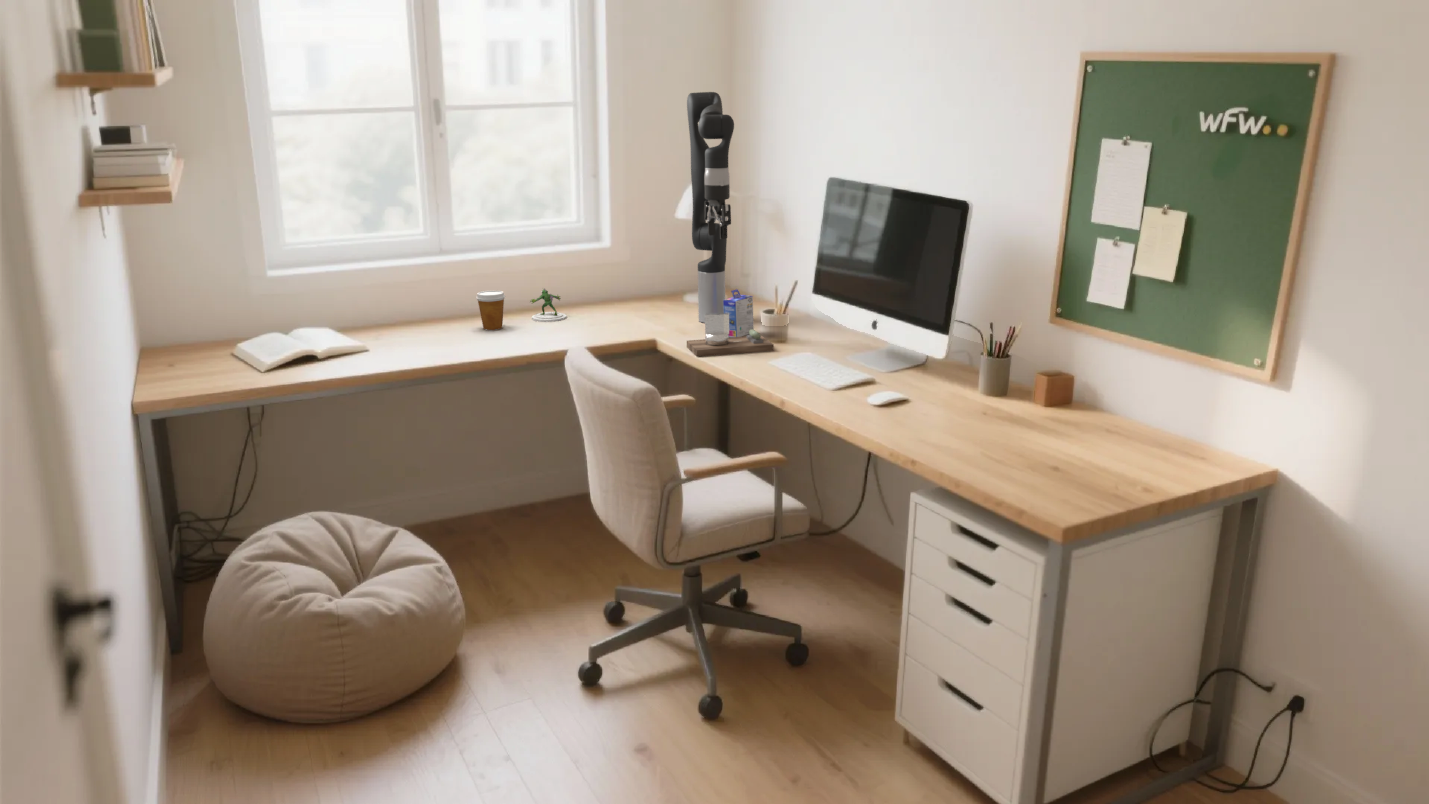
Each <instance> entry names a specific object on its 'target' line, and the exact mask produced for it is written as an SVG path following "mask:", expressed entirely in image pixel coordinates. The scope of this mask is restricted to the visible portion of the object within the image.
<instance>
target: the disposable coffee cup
mask: <svg viewBox="0 0 1429 804" xmlns="http://www.w3.org/2000/svg"><path fill="white" fill-rule="evenodd" d="M505 297H506V295H505V293H504V291H502V290H484V291H482V290H481V291H479V292H477V293H476V297H475V298H476V301H477V304H478V309H479V315H480V318H481V323H482V327H483V330H485V329H487V330H488V331H495V329H497V330H501V329H502V328H503V323H504V321H503V320H504V306H505V305H504V304H505ZM487 330H486V331H487Z"/></svg>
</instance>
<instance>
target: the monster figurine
mask: <svg viewBox="0 0 1429 804" xmlns="http://www.w3.org/2000/svg"><path fill="white" fill-rule="evenodd" d="M554 299H556V300H558V301H561V296H559V294H557V295H555V294H552V293H549V291H548V290H547V289H546V288H544V287H543V289H542V290H541V294H540V295H539V297H537V298H536V299H535V298H532V299H530V300H529V301H530V302H529V303H531V304H534V303H536V302H538V301H540V300H543V302H544V303H543V304H541V305H542V306H541V310H542V311H541V312H540V313H536V314H533V315H532V316H531V320H532V321H534V322H537V321H538V322H539V323H553V322H560V321H564V320H566V319H567V314H566V313H563V312H557V310H556V308H555V306H554V305H553V300H554ZM548 306H549V307H550V308H551V309H552V310H553V311H545V308H546V307H548Z"/></svg>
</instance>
